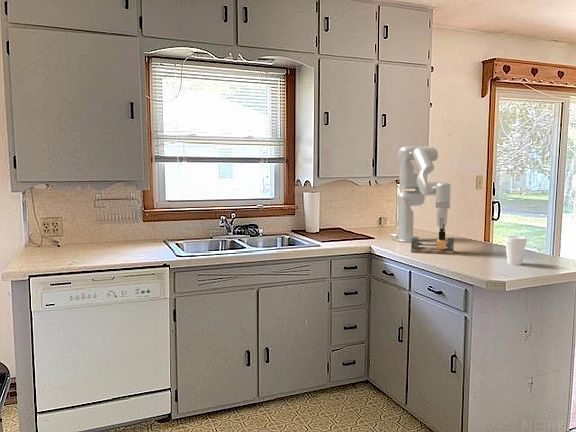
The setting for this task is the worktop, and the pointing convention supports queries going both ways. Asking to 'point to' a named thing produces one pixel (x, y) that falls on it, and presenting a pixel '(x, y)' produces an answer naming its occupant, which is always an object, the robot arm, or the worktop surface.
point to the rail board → (431, 250)
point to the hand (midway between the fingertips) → (442, 238)
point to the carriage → (441, 243)
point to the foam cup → (515, 249)
